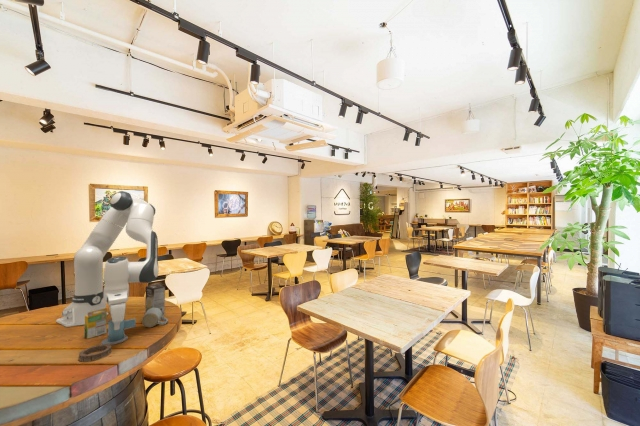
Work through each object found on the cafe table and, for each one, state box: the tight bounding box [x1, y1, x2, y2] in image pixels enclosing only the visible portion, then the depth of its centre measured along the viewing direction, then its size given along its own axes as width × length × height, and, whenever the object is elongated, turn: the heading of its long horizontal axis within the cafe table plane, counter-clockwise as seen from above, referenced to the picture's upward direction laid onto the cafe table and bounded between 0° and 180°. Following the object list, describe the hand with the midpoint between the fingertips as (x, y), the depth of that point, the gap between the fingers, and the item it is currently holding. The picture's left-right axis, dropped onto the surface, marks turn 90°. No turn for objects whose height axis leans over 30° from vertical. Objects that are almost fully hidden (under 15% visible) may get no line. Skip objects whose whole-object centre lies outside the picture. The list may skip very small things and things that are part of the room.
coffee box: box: [144, 283, 166, 317], centre depth 145 cm, size 9×6×16 cm
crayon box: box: [84, 307, 108, 340], centre depth 120 cm, size 7×3×12 cm, turn 152°
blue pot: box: [107, 318, 137, 342], centre depth 116 cm, size 10×6×8 cm, turn 131°
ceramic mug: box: [141, 308, 169, 328], centre depth 132 cm, size 11×8×8 cm
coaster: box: [100, 334, 129, 346], centre depth 114 cm, size 9×9×1 cm
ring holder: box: [78, 344, 112, 363], centre depth 102 cm, size 9×9×2 cm
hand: (116, 326), depth 115 cm, fingers open, 6 cm apart
